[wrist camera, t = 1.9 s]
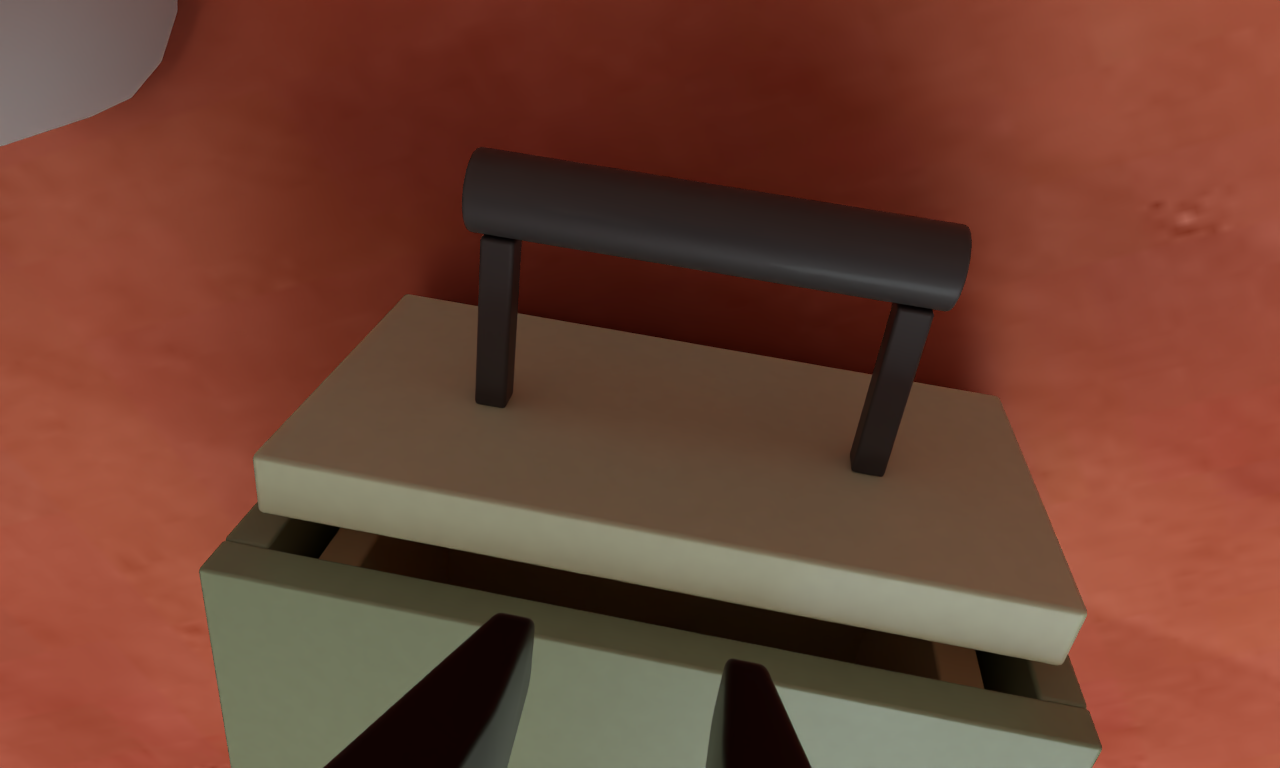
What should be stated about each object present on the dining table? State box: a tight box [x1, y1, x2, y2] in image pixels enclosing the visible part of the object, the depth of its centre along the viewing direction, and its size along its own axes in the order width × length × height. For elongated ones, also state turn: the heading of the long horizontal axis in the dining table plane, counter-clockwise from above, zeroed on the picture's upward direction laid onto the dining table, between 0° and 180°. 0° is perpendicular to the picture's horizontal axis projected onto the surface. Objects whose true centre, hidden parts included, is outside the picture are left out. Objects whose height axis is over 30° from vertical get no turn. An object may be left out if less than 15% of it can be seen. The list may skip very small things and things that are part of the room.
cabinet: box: [199, 502, 1102, 768], centre depth 22 cm, size 16×15×9 cm
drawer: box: [253, 147, 1087, 689], centre depth 19 cm, size 19×13×7 cm
